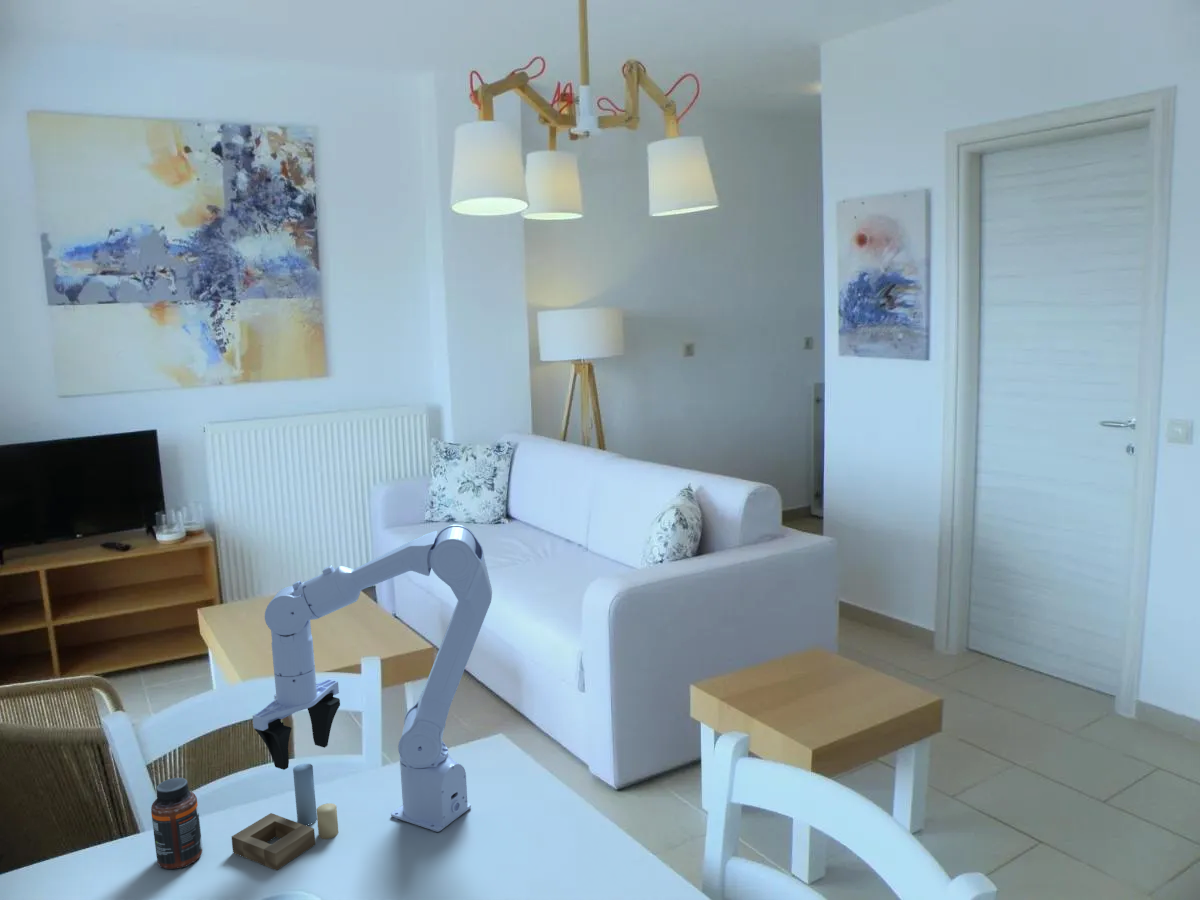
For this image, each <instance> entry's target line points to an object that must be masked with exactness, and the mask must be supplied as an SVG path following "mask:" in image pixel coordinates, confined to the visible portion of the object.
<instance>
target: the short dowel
mask: <svg viewBox="0 0 1200 900" xmlns="http://www.w3.org/2000/svg"><path fill="white" fill-rule="evenodd" d="M337 807H338V806H337V805H336V804H335V803H330V802H329V803H324V804H321V805H319V806H318V807H316V813H317V821H316V822H317V831H318V837H319V839H322V840H329V838H330V839H333V838H335V837H337V836H338V835H339V823H338V822H339V821H338V809H337Z"/></svg>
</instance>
